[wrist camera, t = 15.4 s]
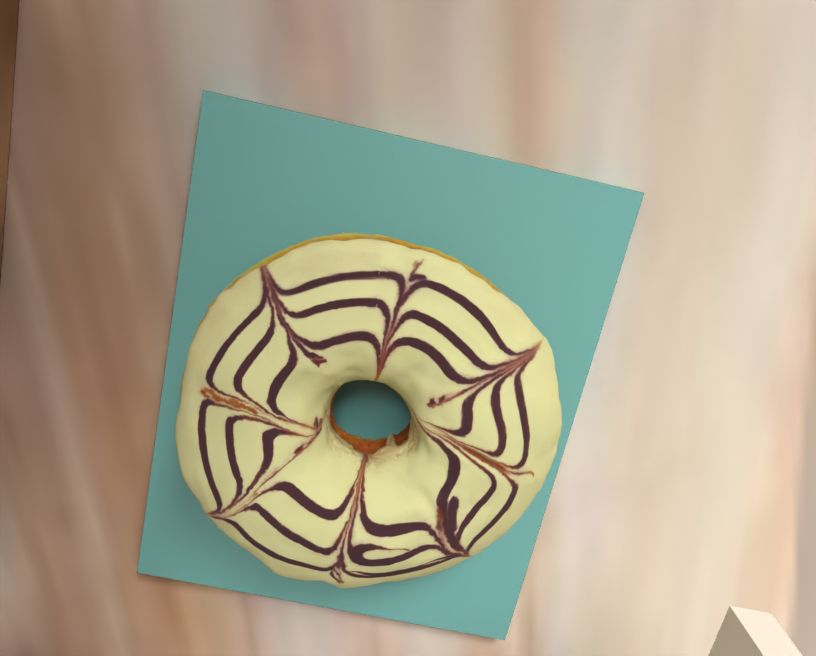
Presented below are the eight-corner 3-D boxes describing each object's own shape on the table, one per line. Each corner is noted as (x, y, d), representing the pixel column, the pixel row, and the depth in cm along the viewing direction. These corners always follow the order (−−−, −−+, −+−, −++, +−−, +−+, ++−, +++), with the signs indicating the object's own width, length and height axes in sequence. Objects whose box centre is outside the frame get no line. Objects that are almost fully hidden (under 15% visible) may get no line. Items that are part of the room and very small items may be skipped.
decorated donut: (485, 568, 24) (501, 647, 20) (175, 496, 23) (133, 566, 19) (585, 280, 21) (624, 312, 17) (237, 187, 20) (201, 199, 16)
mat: (208, 91, 20) (203, 90, 19) (637, 191, 21) (644, 192, 20) (143, 562, 24) (137, 572, 24) (502, 628, 25) (504, 640, 24)
